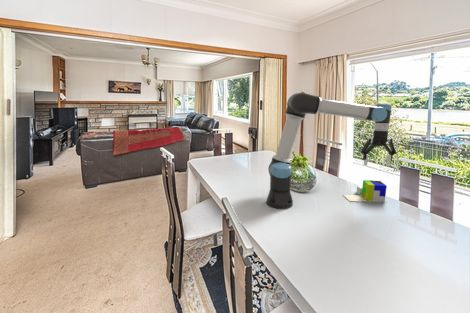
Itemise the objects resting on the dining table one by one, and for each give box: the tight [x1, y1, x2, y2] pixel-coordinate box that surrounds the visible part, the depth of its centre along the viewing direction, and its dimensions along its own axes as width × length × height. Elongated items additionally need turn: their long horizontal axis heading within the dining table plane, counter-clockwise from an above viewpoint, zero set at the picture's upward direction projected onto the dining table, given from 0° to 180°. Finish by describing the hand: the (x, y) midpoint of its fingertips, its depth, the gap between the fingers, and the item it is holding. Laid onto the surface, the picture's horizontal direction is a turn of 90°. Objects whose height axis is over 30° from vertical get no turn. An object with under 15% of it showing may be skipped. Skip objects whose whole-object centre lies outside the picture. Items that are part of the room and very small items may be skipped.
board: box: [342, 194, 387, 203], centre depth 157 cm, size 22×11×1 cm, turn 89°
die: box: [356, 185, 363, 195], centre depth 166 cm, size 5×5×5 cm
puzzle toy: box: [362, 179, 387, 203], centre depth 156 cm, size 10×10×10 cm
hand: (376, 165), depth 153 cm, fingers open, 13 cm apart
